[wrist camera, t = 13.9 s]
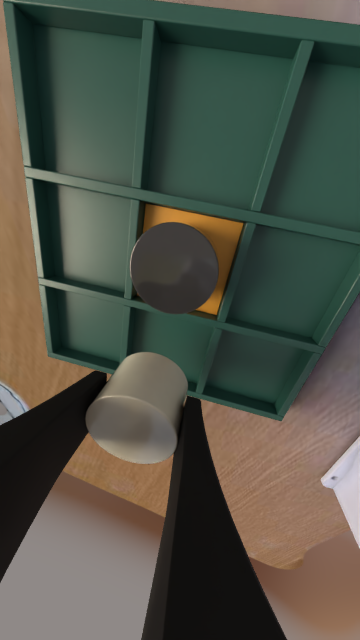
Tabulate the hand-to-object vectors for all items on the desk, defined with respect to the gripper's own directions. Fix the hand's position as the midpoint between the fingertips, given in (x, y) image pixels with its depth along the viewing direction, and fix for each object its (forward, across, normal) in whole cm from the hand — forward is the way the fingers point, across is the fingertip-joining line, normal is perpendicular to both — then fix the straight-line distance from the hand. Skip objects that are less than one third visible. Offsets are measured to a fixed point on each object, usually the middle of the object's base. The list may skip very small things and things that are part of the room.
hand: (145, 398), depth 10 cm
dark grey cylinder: (+5, 0, -6) cm, 8 cm away
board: (+6, 0, -6) cm, 8 cm away
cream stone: (+1, 0, 0) cm, 1 cm away
